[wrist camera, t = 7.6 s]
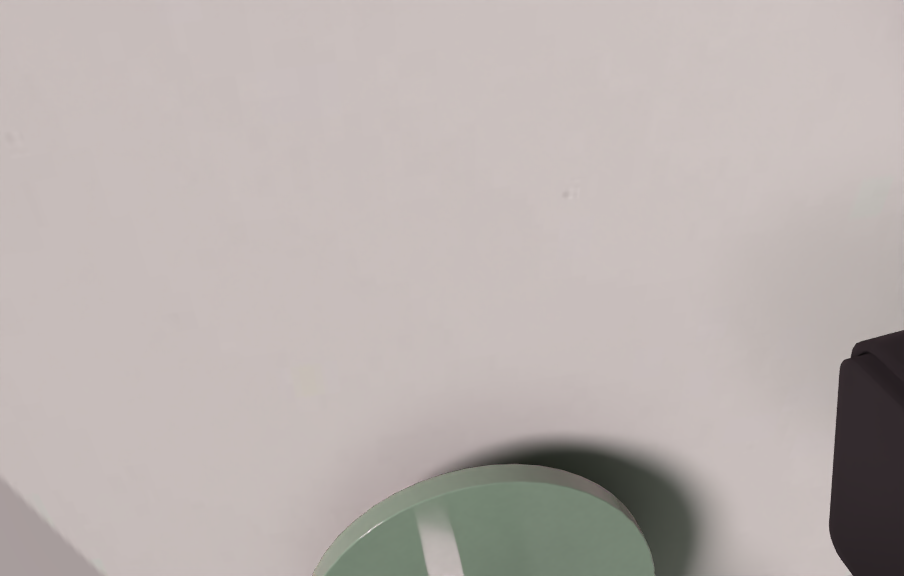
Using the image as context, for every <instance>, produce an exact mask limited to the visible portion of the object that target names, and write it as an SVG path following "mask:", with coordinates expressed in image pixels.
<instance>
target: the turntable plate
mask: <svg viewBox="0 0 904 576" xmlns="http://www.w3.org/2000/svg"><path fill="white" fill-rule="evenodd" d="M312 576H655V568H654V562H653V558H652V554H651V550H650V548H649V546H648V544H647V541H646V539H645V537H644V535H643V533H642V531H641V529H640V527H639V525H638V523H637V521H636V519H635V518H634V517H633V515H632V514H631V513H630V511H629V510H628V508H627V507H626V506H625V505H624V504H623V503H622V502H621V501H620V500H619V499H618V498H617V497H616V496H615V495H613V494H612V493H610V492H609V491H608V490H606V489H605V488H603V487H602V486H600V485H599V484H597V483H595V482H593V481H591V480H588V479H586V478H584V477H582V476H580V475H577V474H573V473H570V472H567V471H564V470H561V469H556V468H550V467H545V466H539V465H525V464H499V465H486V466H479V467H472V468H466V469H462V470H458V471H454V472H450V473H445V474H441V475H439V476H436V477H433V478H430V479H427V480H424V481H422V482H419V483H416V484H414V485H412V486H410V487H408V488H406V489H404V490H401V491H399V492H397V493H395V494H393V495H392V496H390V497H388V498H387V499H385V500H383V501H382V502H380V503H378V504H377V505H375V506H373V507H372V508H371V509H369V510H368V511H367V512H365V513H364V514H363V515H361V516H360V517H359V518H357V519H356V520H355V521H354V522H353V523H352V524H351V525H350V526H348V527H347V528H346V529H345V530H344V531H343V532H342V533H341V534H340V535H339V536H338V537H337V538H336V540H335V541H334V542H333V543H332V545H331V546H330V547H329V548H328V550H327V551H326V552H325V553H324V555H323V557H322V558H321V560H320V562H319V563H318V565H317V567H316V568H315V570H314V572H313V575H312Z"/></svg>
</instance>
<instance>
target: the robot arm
mask: <svg viewBox="0 0 904 576" xmlns="http://www.w3.org/2000/svg"><path fill="white" fill-rule="evenodd" d="M829 531H830V536H831V539H832V542H833V545H834V547H835V549H836V552H837V554H838V555H839V557H840V558H841V560H842V561H843V563H844V564H845V565H846V567H847V568H848V569H849V571H850V572H851V573H852V575H853V576H904V330H903V331H899V332H895V333H891V334H887V335H884V336H880V337H876V338H872V339H869V340H865V341H861V342H859V343H856V345H855V346H854V348H853V350H852V354H851V358H849V359H846V360H844V361H843V362H842V363H841V367H840V373H839V388H838V402H837V417H836V431H835V446H834V460H833V475H832V489H831V504H830V518H829Z"/></svg>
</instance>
